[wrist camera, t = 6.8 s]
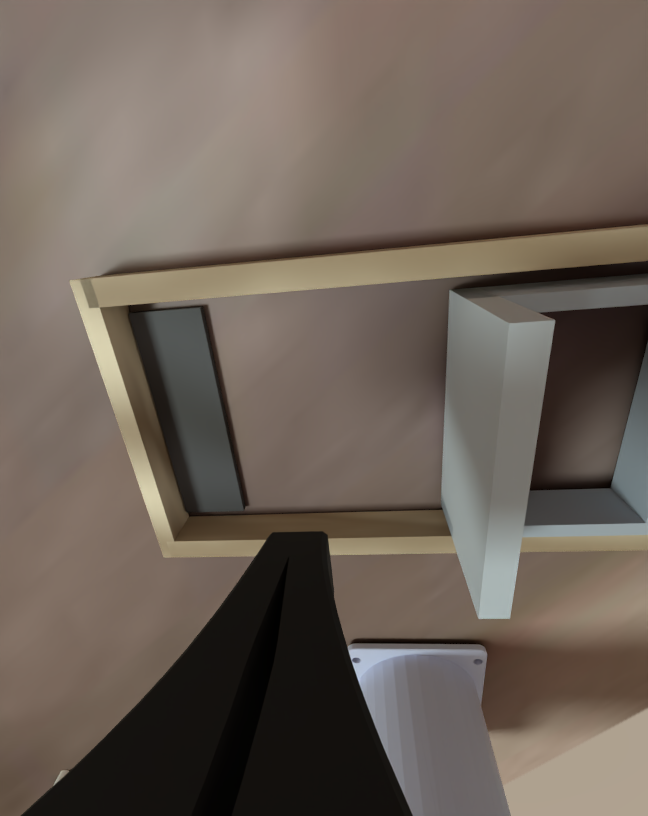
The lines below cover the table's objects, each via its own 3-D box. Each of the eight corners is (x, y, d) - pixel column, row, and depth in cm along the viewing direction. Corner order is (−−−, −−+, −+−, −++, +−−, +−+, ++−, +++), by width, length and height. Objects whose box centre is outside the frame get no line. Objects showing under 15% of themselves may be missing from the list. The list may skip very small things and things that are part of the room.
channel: (663, 524, 18) (709, 567, 16) (179, 534, 21) (157, 573, 18) (770, 206, 13) (865, 199, 10) (98, 270, 15) (51, 277, 13)
